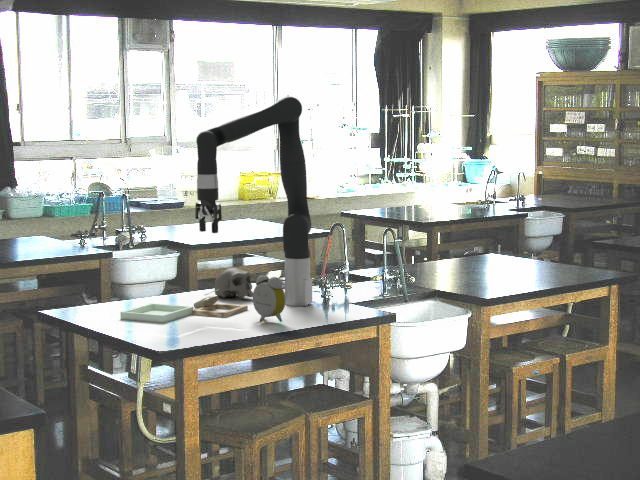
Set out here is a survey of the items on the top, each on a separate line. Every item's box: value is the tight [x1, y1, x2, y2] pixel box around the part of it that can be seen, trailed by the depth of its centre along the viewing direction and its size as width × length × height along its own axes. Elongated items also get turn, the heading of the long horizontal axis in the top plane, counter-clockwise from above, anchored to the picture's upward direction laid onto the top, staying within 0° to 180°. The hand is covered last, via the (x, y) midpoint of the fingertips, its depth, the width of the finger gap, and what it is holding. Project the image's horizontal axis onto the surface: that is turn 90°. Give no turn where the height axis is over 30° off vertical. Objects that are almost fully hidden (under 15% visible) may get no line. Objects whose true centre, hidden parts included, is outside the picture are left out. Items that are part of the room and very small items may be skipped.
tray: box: [119, 302, 194, 324], centre depth 355 cm, size 17×19×2 cm
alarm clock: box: [252, 274, 286, 323], centre depth 346 cm, size 12×7×15 cm, turn 44°
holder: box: [191, 302, 249, 318], centre depth 363 cm, size 13×16×2 cm
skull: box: [214, 267, 254, 300], centre depth 393 cm, size 12×18×12 cm, turn 47°
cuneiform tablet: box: [193, 288, 222, 309], centre depth 368 cm, size 7×4×12 cm
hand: (208, 232), depth 373 cm, fingers open, 8 cm apart
